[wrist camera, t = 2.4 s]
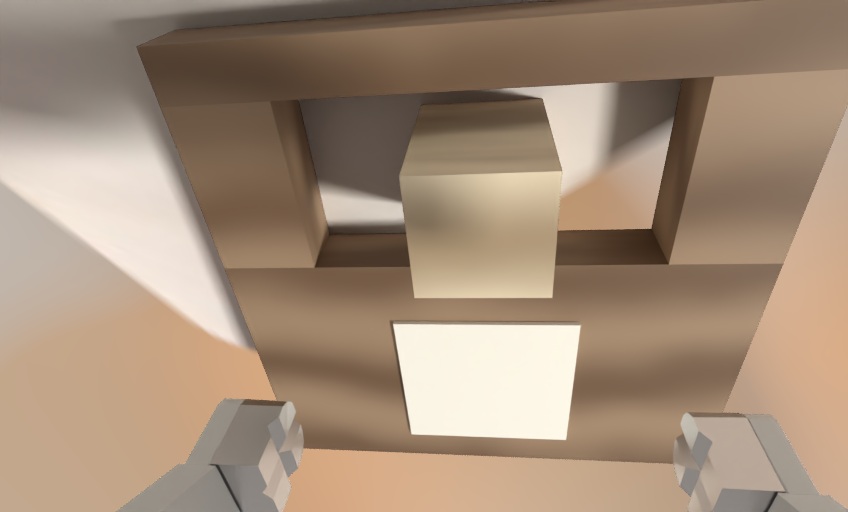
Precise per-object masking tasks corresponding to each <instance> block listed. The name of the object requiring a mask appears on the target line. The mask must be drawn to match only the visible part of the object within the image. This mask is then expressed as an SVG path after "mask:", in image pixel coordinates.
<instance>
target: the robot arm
mask: <svg viewBox="0 0 848 512" xmlns="http://www.w3.org/2000/svg"><path fill="white" fill-rule="evenodd" d="M295 413H296V410H295V408H294V405H293V403H292V402H285V401H267V400H250V399H226V398H225V399H224V400H223V401H221V402H220V403H219V404H218V406H217V408H216V410H215V411H214V413H213V415H212V416H211V418H210V420H209V422H208V424H207V426H206V427H205V429H204V431H203V433H202V434H201V437H200V438H199V440H198V442H197V443H196V445H195V447H194V449H193V451H192V452H191V454H190V456H189V458H188V460H187V461H186V463H185V464H178V465H176V466H175V467H174V468H173V469H171V470H170V471H169V472H167V473H166V474H165V475H163V476H162V477H161V478H159V479H158V480H157V481H156V482H154V483H153V484H152V485H150V486H149V487H148V488H147V489H145V490H144V491H143V492H141V493H140V494H139V495H137V496H136V497H135V498H133V499H132V500H131V501H130V502H128V503H127V504H126V505H124V506H123V507H122V508H120V509H119V510H118V511H116V512H283V510H284V507H285V505H286V501H287V499H288V496H289V493H290V490H291V484H290V482H289V479H288V477H289V476H290V475H291V474H292V473H293V472H294V471H295V470H297V469H298V467H299V464H300V461H301V457H302V453H303V445H304V437H303V431H302V428H301V425H300V424H299V423H298V422H296V421H295V420H294V416H295ZM680 425H681V427H682V430H683V434H682V435H680V436H679V437H677V438H676V440H675V444H674V448H673V464H674V469H675V474H676V477H677V480H678V483H679V486H680V487H681V488H682V489H683V490H684V491H685V492H686V493H687V494H688V495H689V496H690V497H691V499H690V502H689V504H688V507H687V510H688V512H848V509H847V508H845V507H844V506H843V505H841V504H840V503H839V502H837V501H836V500H835V499H834V498H832V497H831V496H829V495H820V493H819V492H818V490H817V488H816V486H815V485H814V483H813V481H812V480H811V478H810V476H809V474H808V473H807V471H806V469H805V468H804V466H803V464H802V462H801V461H800V459H799V457H798V456H797V454H796V452H795V451H794V449H793V447H792V445H791V444H790V442H789V440H788V439H787V437H786V435H785V434H784V432H783V430H782V428H781V426H780V425H779V423H778V421H777V420H776V419H775V418H774V417H773V416H772V415H768V414H739V413H703V412H687V413H686V414H684V415H683V417H682V420H681V423H680Z"/></svg>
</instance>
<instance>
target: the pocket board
mask: <svg viewBox="0 0 848 512" xmlns="http://www.w3.org/2000/svg"><path fill="white" fill-rule="evenodd" d="M137 50H138V52H139V55H140V57H141V60H142V62H143V65H144V67H145V70H146V72H147V75H148V77H149V80H150V82H151V85H152V87H153V90H154V92H155V95H156V97H157V100H158V102H159V105H160V107H161V110H162V112H163V115H164V117H165V120H166V123H167V125H168V128H169V130H170V133H171V135H172V138H173V140H174V143H175V145H176V148H177V150H178V153H179V155H180V158H181V160H182V163H183V165H184V168H185V170H186V173H187V175H188V178H189V180H190V183H191V185H192V188H193V190H194V193H195V195H196V198H197V200H198V203H199V205H200V208H201V211H202V213H203V216H204V218H205V221H206V223H207V226H208V228H209V231H210V233H211V236H212V238H213V241H214V243H215V246H216V248H217V251H218V253H219V256H220V258H221V261H222V263H223V266H224V268H225V271H226V273H227V276H228V278H229V281H230V283H231V286H232V288H233V291H234V293H235V296H236V299H237V301H238V304H239V306H240V309H241V311H242V314H243V316H244V319H245V321H246V324H247V326H248V329H249V331H250V334H251V336H252V339H253V341H254V344H255V346H256V349H257V351H258V354H259V356H260V359H261V361H262V364H263V366H264V369H265V371H266V374H267V376H268V379H269V381H270V384H271V386H272V389H273V392H274V394H275V396H276V399H277V401H285V402H292V403H293V405H294V408H295V410H296V413H295V416H294V420H295V421H296V422H298V423H299V424H300V425H301V428H302V431H303V437H304V445H303V448H309V449H333V450H357V451H381V452H382V451H383V452H405V453H429V454H454V455H478V456H502V457H526V458H550V459H573V460H574V459H575V460H598V461H621V462H645V463H670V464H673V448H674V444H675V440H676V438H677V437H679V436H680V435H682V434H683V430H682V427H681V425H680V423H681V420H682V417H683V415H684V414H686V413H687V412H703V413H723V411H724V408H725V405H726V403H727V401H728V398H729V396H730V393H731V391H732V388H733V386H734V384H735V381H736V379H737V376H738V374H739V371H740V369H741V366H742V364H743V361H744V359H745V357H746V354H747V352H748V349H749V346H750V344H751V342H752V339H753V337H754V334H755V332H756V330H757V327H758V325H759V322H760V320H761V317H762V315H763V312H764V310H765V307H766V305H767V302H768V300H769V297H770V295H771V293H772V290H773V288H774V285H775V283H776V280H777V278H778V275H779V273H780V271H781V268H782V265H783V263H784V261H785V258H786V256H787V253H788V251H789V248H790V246H791V243H792V241H793V239H794V236H795V234H796V231H797V229H798V226H799V224H800V221H801V219H802V217H803V214H804V211H805V209H806V206H807V204H808V202H809V199H810V197H811V194H812V192H813V189H814V187H815V184H816V182H817V180H818V177H819V174H820V172H821V170H822V167H823V165H824V162H825V160H826V158H827V155H828V153H829V150H830V148H831V145H832V143H833V140H834V138H835V135H836V133H837V131H838V128H839V126H840V123H841V121H842V118H843V116H844V113H845V111H846V108H847V106H848V0H554V1H541V2H528V3H515V4H502V5H490V6H477V7H464V8H451V9H438V10H426V11H413V12H400V13H387V14H374V15H361V16H349V17H336V18H323V19H310V20H297V21H285V22H272V23H259V24H246V25H233V26H221V27H208V28H195V29H182V30H174V31H172V32H170V33H167V34H165V35H163V36H160V37H158V38H156V39H153V40H151V41H149V42H146V43H144V44H142V45H140V46H137ZM681 78H683V79H682V84H681V89H680V94H679V98H678V103H677V108H676V113H675V118H674V123H673V127H672V132H671V137H670V142H669V147H668V151H667V156H666V161H665V166H664V171H663V176H662V181H661V185H660V190H659V195H658V200H657V205H656V209H655V214H654V219H653V224H652V229H625V230H573V231H572V230H571V231H570V230H569V231H558V232H557V245H556V257H555V270H554V282H553V295H552V298H414V290H413V282H412V274H411V267H410V259H409V251H408V243H407V236H406V233H401V234H346V235H330V234H329V230H328V226H327V221H326V217H325V213H324V209H323V204H322V200H321V196H320V192H319V187H318V183H317V179H316V174H315V170H314V166H313V162H312V157H311V153H310V149H309V145H308V140H307V136H306V132H305V128H304V123H303V119H302V115H301V111H300V106H299V102H298V100H305V99H323V98H341V97H359V96H376V95H394V94H412V93H430V92H448V91H466V90H484V89H502V88H520V87H538V86H556V85H573V84H591V83H609V82H627V81H645V80H663V79H681Z"/></svg>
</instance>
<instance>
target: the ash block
mask: <svg viewBox="0 0 848 512" xmlns="http://www.w3.org/2000/svg"><path fill="white" fill-rule="evenodd" d="M399 181H400V189H401V197H402V204H403V212H404V220H405V228H406V236H407V243H408V251H409V259H410V267H411V274H412V282H413V290H414V298H552V295H553V282H554V270H555V257H556V245H557V232H558V218H559V207H560V194H561V182H562V168H561V164H560V161H559V157H558V154H557V150H556V146H555V143H554V139H553V135H552V132H551V128H550V124H549V121H548V117H547V113H546V110H545V106H544V103H543V99H527V100H508V101H489V102H469V103H450V104H431V105H421V107H420V110H419V114H418V117H417V120H416V123H415V126H414V130H413V133H412V136H411V139H410V143H409V146H408V149H407V152H406V156H405V159H404V162H403V165H402V168H401V172H400V175H399Z"/></svg>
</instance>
